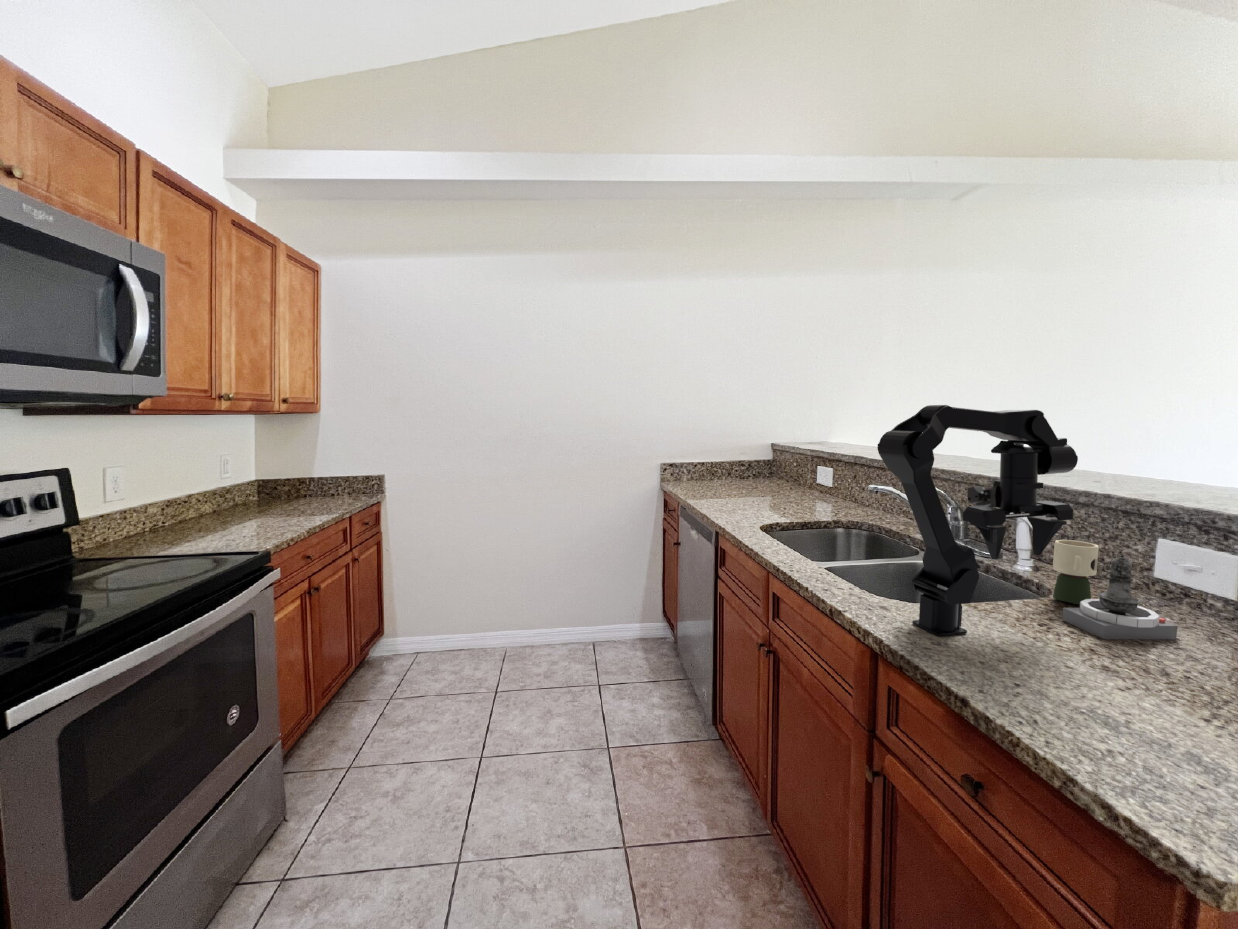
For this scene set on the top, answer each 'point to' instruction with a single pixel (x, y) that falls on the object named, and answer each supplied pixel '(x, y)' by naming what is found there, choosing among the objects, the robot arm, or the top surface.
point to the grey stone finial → (1119, 589)
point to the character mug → (1074, 569)
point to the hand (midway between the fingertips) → (1015, 557)
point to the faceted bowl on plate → (1119, 622)
